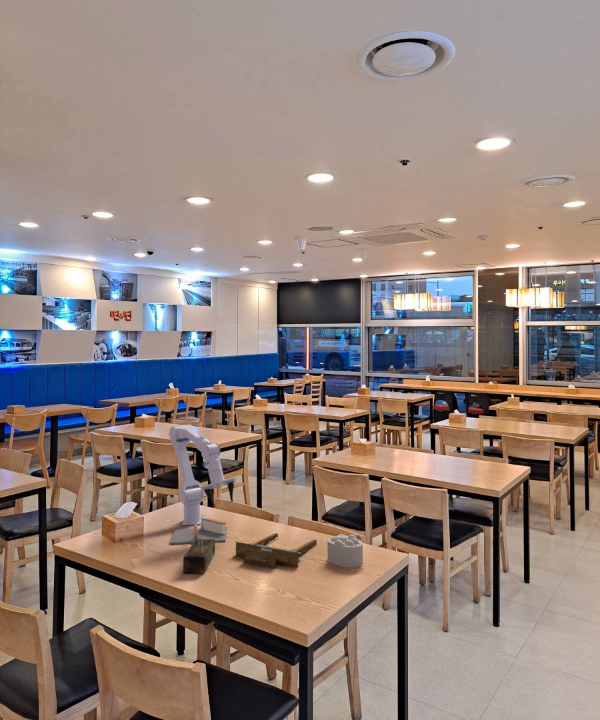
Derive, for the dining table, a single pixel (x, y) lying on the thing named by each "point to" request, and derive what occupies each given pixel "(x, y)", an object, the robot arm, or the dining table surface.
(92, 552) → the dining table surface
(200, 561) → the dark olive rectangular block
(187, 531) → the grey plate with bar
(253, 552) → the miniature gate
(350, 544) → the lumpy-topped squat cylinder
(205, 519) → the gate
